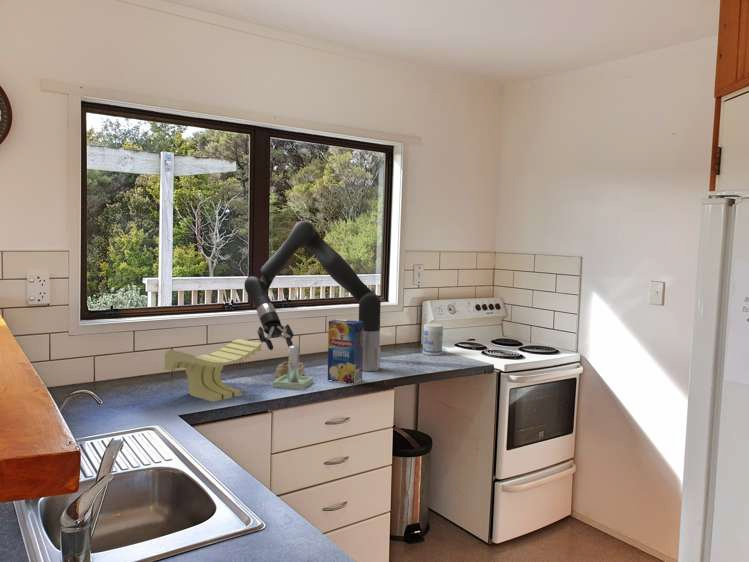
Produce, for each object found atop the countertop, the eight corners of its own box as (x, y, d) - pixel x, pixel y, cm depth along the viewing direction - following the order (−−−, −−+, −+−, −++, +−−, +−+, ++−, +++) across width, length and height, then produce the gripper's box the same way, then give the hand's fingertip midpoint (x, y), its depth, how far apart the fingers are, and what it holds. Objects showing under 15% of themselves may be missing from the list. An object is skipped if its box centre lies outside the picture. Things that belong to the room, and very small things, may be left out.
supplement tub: (419, 354, 303) (420, 325, 302) (426, 351, 312) (427, 322, 311) (437, 356, 299) (438, 326, 298) (444, 353, 307) (445, 324, 306)
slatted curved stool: (233, 383, 239) (233, 337, 237) (260, 390, 229) (261, 343, 228) (164, 398, 216) (164, 348, 214) (191, 407, 206) (191, 354, 204)
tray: (313, 382, 243) (313, 376, 243) (302, 389, 231) (302, 384, 231) (284, 379, 246) (284, 374, 246) (272, 387, 234) (272, 381, 234)
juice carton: (362, 380, 248) (363, 321, 246) (354, 384, 241) (355, 323, 239) (336, 376, 253) (337, 319, 251) (327, 380, 246) (328, 321, 244)
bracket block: (304, 374, 255) (304, 362, 255) (296, 379, 246) (296, 367, 246) (283, 373, 257) (284, 361, 257) (275, 378, 248) (275, 365, 248)
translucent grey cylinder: (300, 381, 240) (300, 345, 239) (296, 383, 236) (297, 347, 235) (290, 380, 241) (291, 345, 240) (286, 382, 237) (287, 346, 236)
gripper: (255, 312, 250) (268, 344, 242) (286, 309, 258) (300, 340, 250) (249, 323, 255) (262, 355, 246) (280, 320, 263) (293, 351, 255)
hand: (281, 347), depth 248 cm, fingers open, 8 cm apart
